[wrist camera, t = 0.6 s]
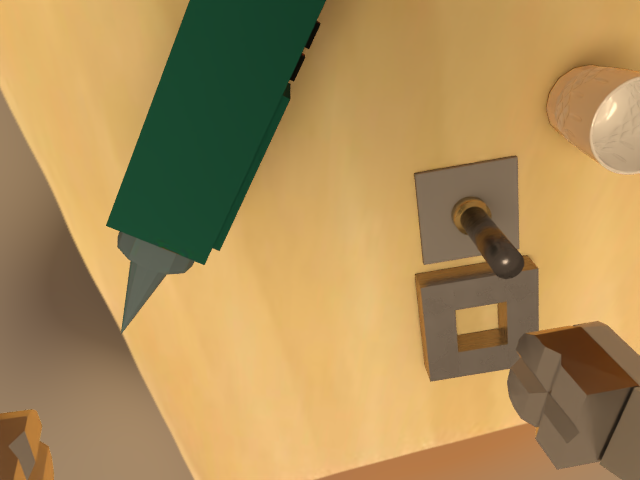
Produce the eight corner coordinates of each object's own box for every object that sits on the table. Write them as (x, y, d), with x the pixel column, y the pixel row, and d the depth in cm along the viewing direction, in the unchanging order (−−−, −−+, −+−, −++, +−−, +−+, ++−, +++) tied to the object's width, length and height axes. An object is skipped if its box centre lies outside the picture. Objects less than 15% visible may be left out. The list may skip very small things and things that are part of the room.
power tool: (200, 254, 58) (160, 379, 40) (134, 228, 57) (61, 344, 39) (342, -59, 47) (375, -83, 29) (265, -103, 46) (248, -158, 27)
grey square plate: (414, 173, 56) (415, 174, 55) (515, 155, 56) (517, 157, 55) (423, 262, 60) (424, 264, 60) (517, 246, 60) (519, 248, 59)
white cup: (637, 70, 53) (710, 89, 44) (599, 151, 56) (660, 184, 47) (560, 48, 52) (618, 63, 42) (526, 131, 55) (573, 162, 46)
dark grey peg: (463, 190, 56) (502, 238, 46) (493, 204, 57) (538, 255, 47) (444, 221, 58) (478, 274, 47) (474, 234, 58) (514, 290, 48)
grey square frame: (414, 274, 61) (420, 288, 58) (527, 255, 60) (538, 268, 57) (424, 364, 66) (430, 381, 63) (528, 347, 65) (538, 363, 62)
